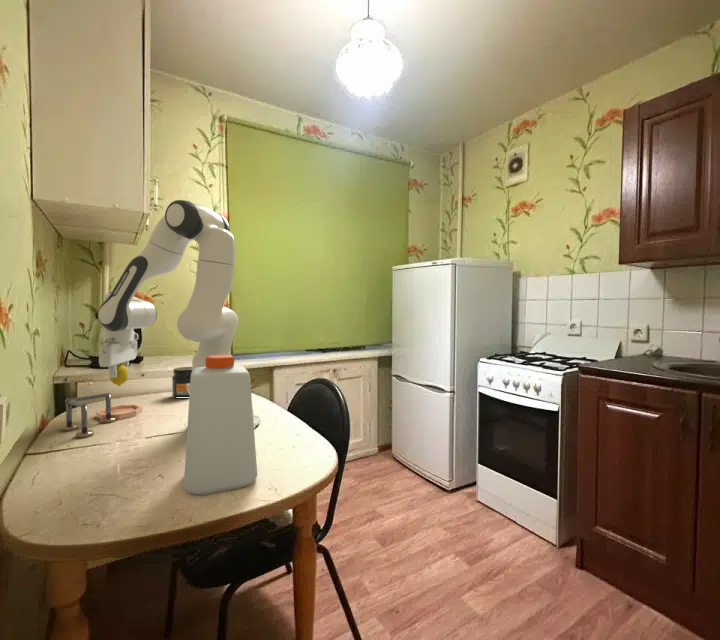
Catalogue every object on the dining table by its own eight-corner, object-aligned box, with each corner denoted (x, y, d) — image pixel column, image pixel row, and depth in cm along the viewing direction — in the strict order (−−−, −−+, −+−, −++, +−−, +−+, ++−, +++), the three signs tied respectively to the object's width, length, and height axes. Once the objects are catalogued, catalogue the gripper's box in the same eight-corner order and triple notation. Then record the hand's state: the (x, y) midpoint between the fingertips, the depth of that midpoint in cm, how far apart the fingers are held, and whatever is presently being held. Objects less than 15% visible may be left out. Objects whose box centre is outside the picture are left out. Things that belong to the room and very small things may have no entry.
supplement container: (195, 399, 156) (194, 370, 156) (168, 399, 155) (168, 370, 154) (202, 393, 166) (202, 366, 166) (177, 393, 165) (176, 366, 165)
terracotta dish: (146, 408, 141) (146, 404, 141) (131, 419, 128) (131, 413, 128) (109, 410, 139) (109, 405, 139) (90, 420, 126) (90, 415, 126)
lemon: (106, 386, 132) (106, 363, 132) (122, 383, 137) (122, 362, 137) (115, 388, 129) (115, 365, 129) (131, 385, 134) (131, 363, 134)
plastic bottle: (185, 470, 89) (183, 353, 88) (250, 460, 95) (250, 350, 94) (183, 501, 75) (181, 362, 74) (260, 486, 81) (259, 359, 80)
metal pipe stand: (118, 419, 128) (118, 390, 128) (88, 437, 110) (87, 404, 110) (79, 420, 126) (78, 391, 126) (41, 440, 108) (40, 406, 108)
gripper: (113, 339, 123) (114, 381, 123) (140, 334, 143) (140, 370, 143) (92, 339, 122) (93, 381, 122) (122, 334, 142) (123, 370, 142)
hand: (119, 375), depth 133 cm, fingers closed on lemon, 5 cm apart
